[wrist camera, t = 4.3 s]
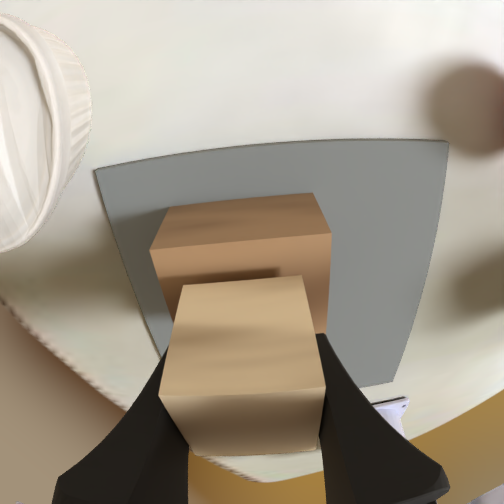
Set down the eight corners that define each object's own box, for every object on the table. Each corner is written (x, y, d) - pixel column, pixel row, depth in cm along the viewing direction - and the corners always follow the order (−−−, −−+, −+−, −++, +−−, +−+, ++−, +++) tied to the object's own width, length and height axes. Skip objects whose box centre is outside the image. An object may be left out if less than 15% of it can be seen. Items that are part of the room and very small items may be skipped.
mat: (391, 378, 25) (392, 381, 24) (183, 398, 25) (183, 402, 25) (445, 140, 14) (449, 142, 14) (98, 168, 15) (95, 171, 14)
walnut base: (312, 302, 19) (324, 353, 16) (196, 312, 19) (188, 363, 16) (312, 192, 15) (331, 233, 12) (169, 206, 16) (149, 249, 12)
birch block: (301, 352, 14) (315, 449, 10) (205, 359, 15) (195, 455, 10) (301, 275, 12) (325, 386, 8) (183, 285, 12) (158, 395, 8)
